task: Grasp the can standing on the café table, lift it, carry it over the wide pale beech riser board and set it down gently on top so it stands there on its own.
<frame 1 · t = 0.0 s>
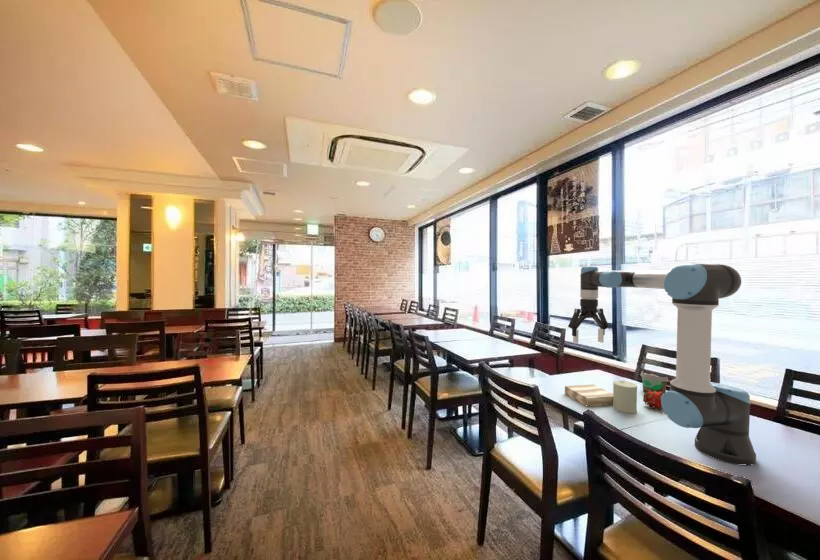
hand: (588, 342, 157), 28 cm above the table, fingers open, 13 cm apart
food container: (651, 394, 166), on the table
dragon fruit: (656, 408, 149), on the table
riser block: (590, 398, 159), on the table
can: (624, 409, 147), on the table
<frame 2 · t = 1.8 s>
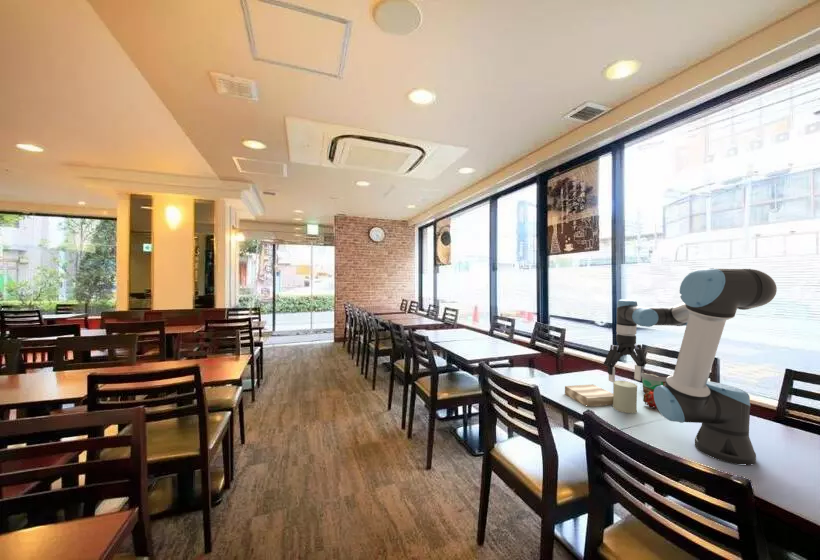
hand: (624, 380, 147), 13 cm above the table, fingers open, 13 cm apart
nothing on the table moved.
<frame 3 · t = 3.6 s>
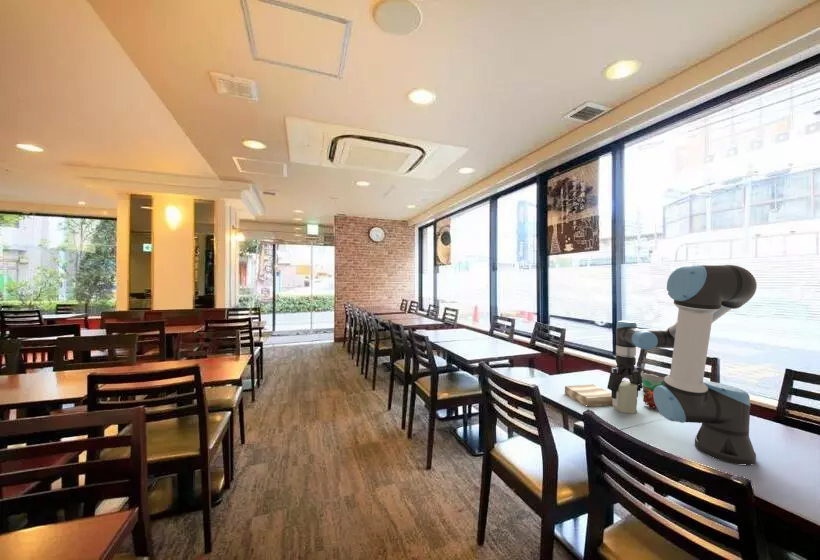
hand: (624, 404, 147), 2 cm above the table, fingers closed on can, 9 cm apart
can: (624, 409, 147), on the table, touching gripper
everything else where it was.
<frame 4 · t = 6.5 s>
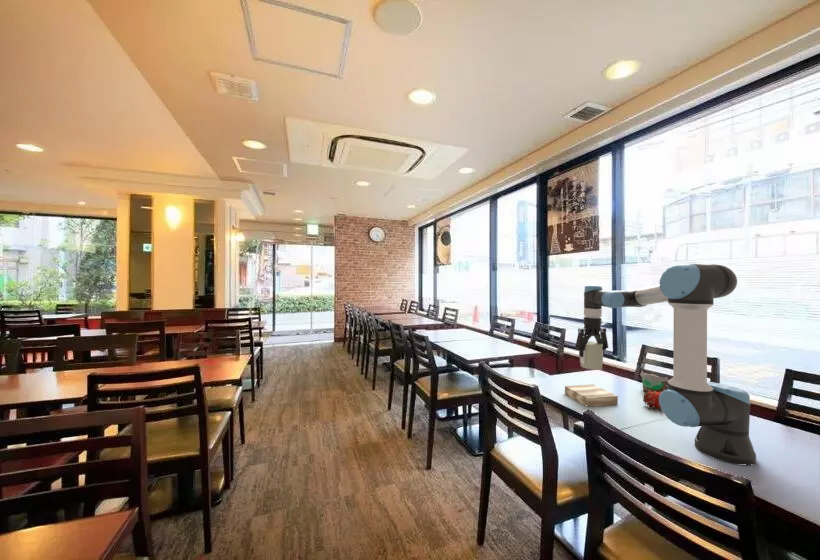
hand: (591, 363, 158), 18 cm above the table, fingers closed on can, 9 cm apart
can: (591, 367, 158), point 16 cm above the table, touching gripper
everything else where it was.
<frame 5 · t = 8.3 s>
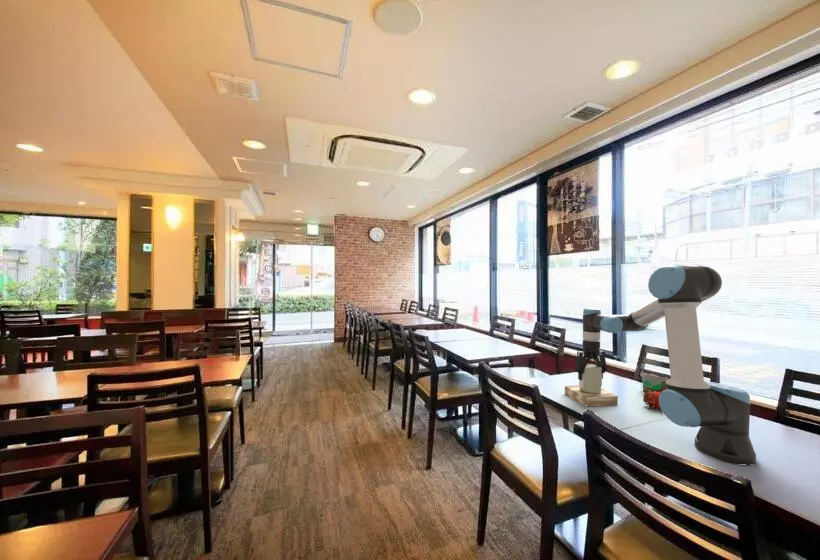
hand: (590, 385, 158), 6 cm above the table, fingers closed on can, 9 cm apart
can: (590, 390, 158), point 4 cm above the table, touching gripper
everything else where it was.
when the fingers open (6 cm above the table, at t = 9.5 s): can stays where it is, resting on riser block.
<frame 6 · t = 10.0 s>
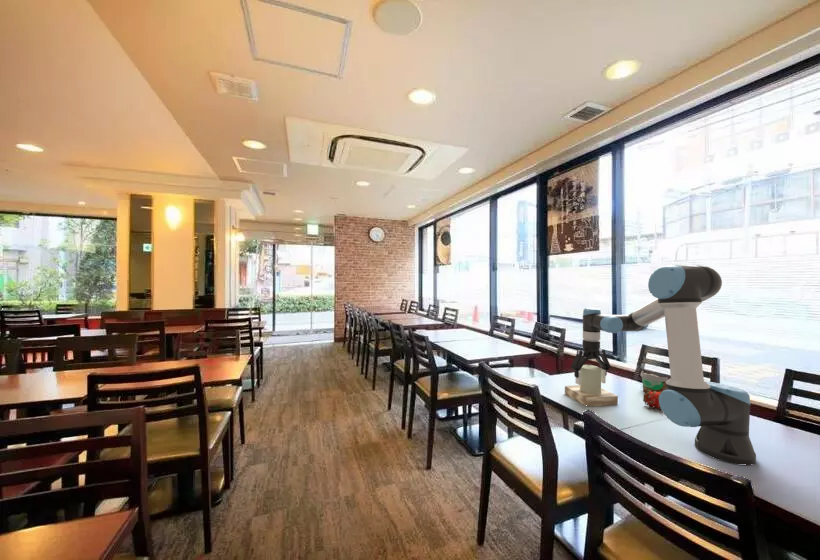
hand: (590, 383, 158), 8 cm above the table, fingers open, 13 cm apart
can: (590, 391, 159), point 4 cm above the table, touching riser block
everything else where it was.
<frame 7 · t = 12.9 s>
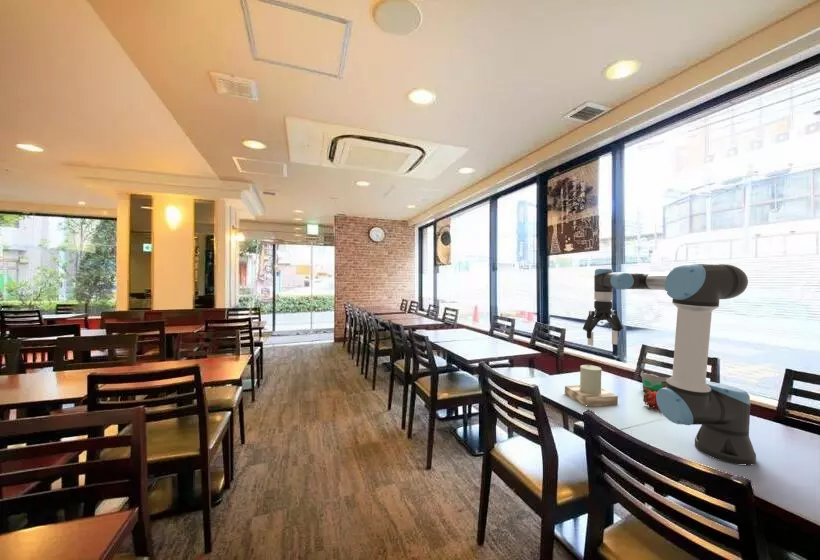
hand: (602, 344, 156), 27 cm above the table, fingers open, 13 cm apart
nothing on the table moved.
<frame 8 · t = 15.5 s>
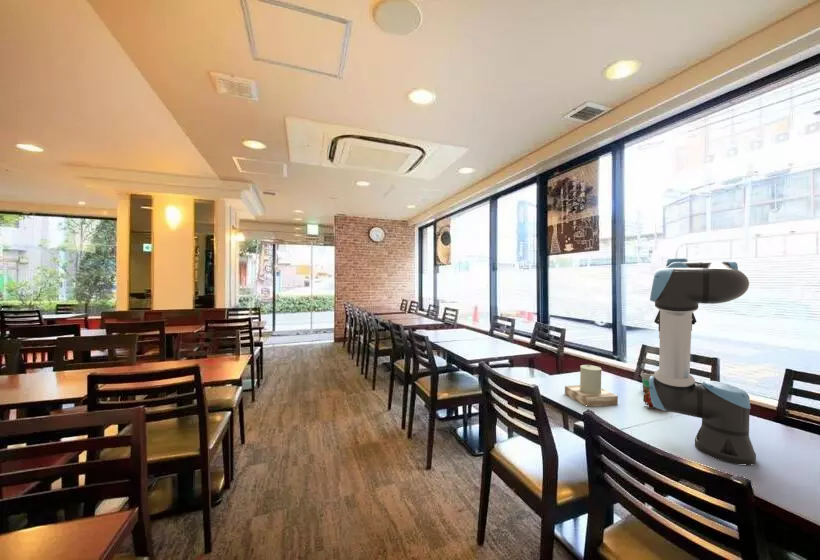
hand: (675, 338, 149), 32 cm above the table, fingers open, 13 cm apart
nothing on the table moved.
at the end: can inside the target area on the riser block (0.0 cm from its centre), point 3.8 cm above the riser block's base; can tilted 0°; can touching riser block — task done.
